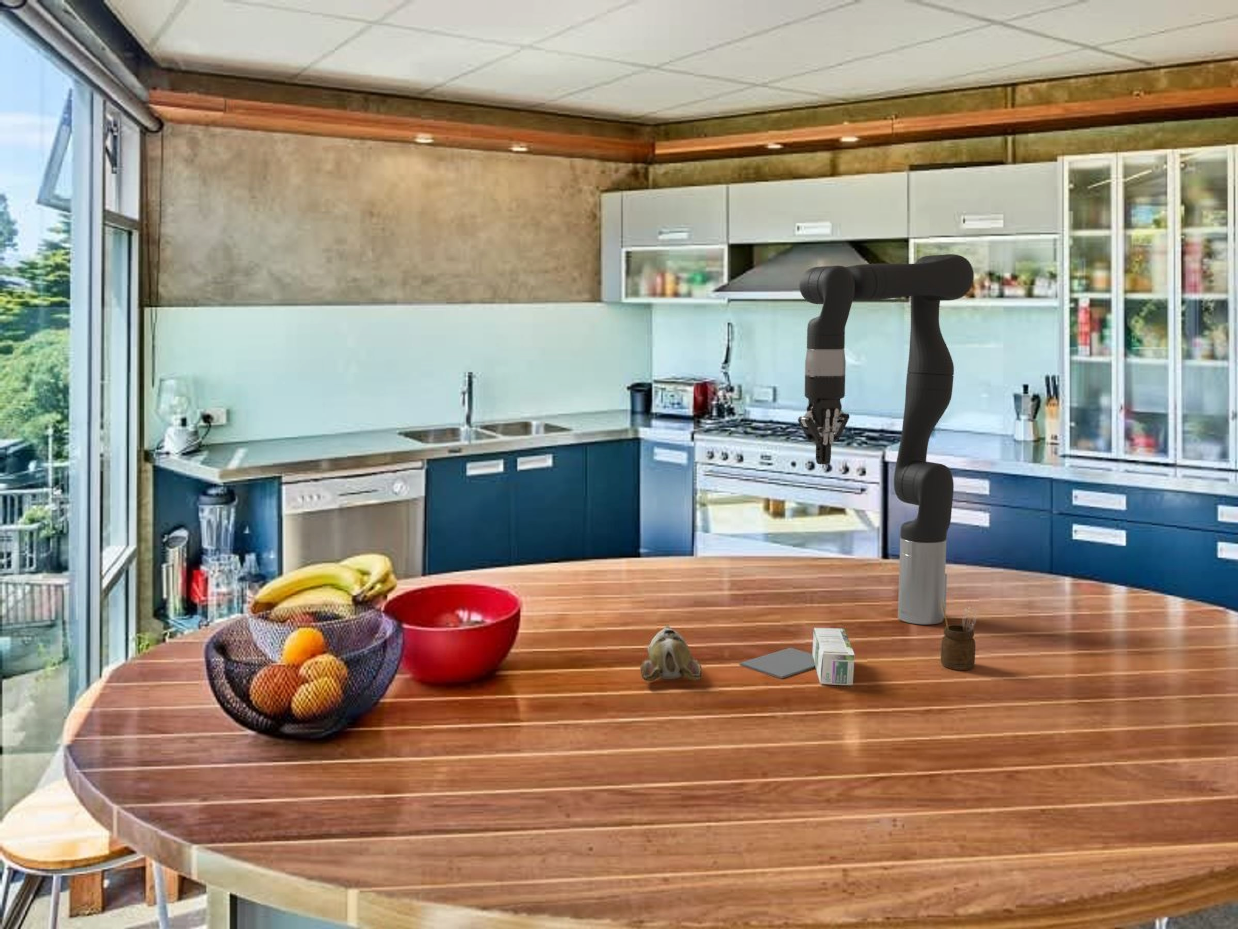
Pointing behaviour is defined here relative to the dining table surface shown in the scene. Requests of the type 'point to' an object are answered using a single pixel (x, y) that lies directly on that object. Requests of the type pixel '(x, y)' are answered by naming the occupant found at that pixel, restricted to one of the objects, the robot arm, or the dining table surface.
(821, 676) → the syrup box
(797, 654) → the mat
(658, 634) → the ceramic sculpture
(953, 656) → the utensil holder
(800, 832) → the dining table surface
